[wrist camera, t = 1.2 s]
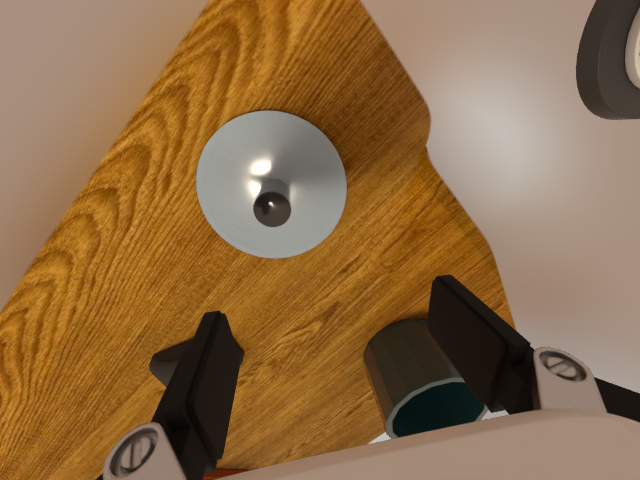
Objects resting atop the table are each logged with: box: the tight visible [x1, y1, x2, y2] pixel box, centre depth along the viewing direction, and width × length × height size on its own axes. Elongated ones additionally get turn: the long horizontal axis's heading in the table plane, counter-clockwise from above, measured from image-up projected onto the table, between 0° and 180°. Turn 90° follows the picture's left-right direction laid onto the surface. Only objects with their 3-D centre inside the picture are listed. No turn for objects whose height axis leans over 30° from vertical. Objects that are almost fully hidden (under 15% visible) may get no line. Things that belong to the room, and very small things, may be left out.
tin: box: [364, 319, 489, 439], centre depth 34 cm, size 14×14×10 cm
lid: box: [196, 110, 347, 258], centre depth 22 cm, size 15×15×7 cm
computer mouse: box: [149, 340, 243, 387], centre depth 31 cm, size 6×11×4 cm, turn 110°
